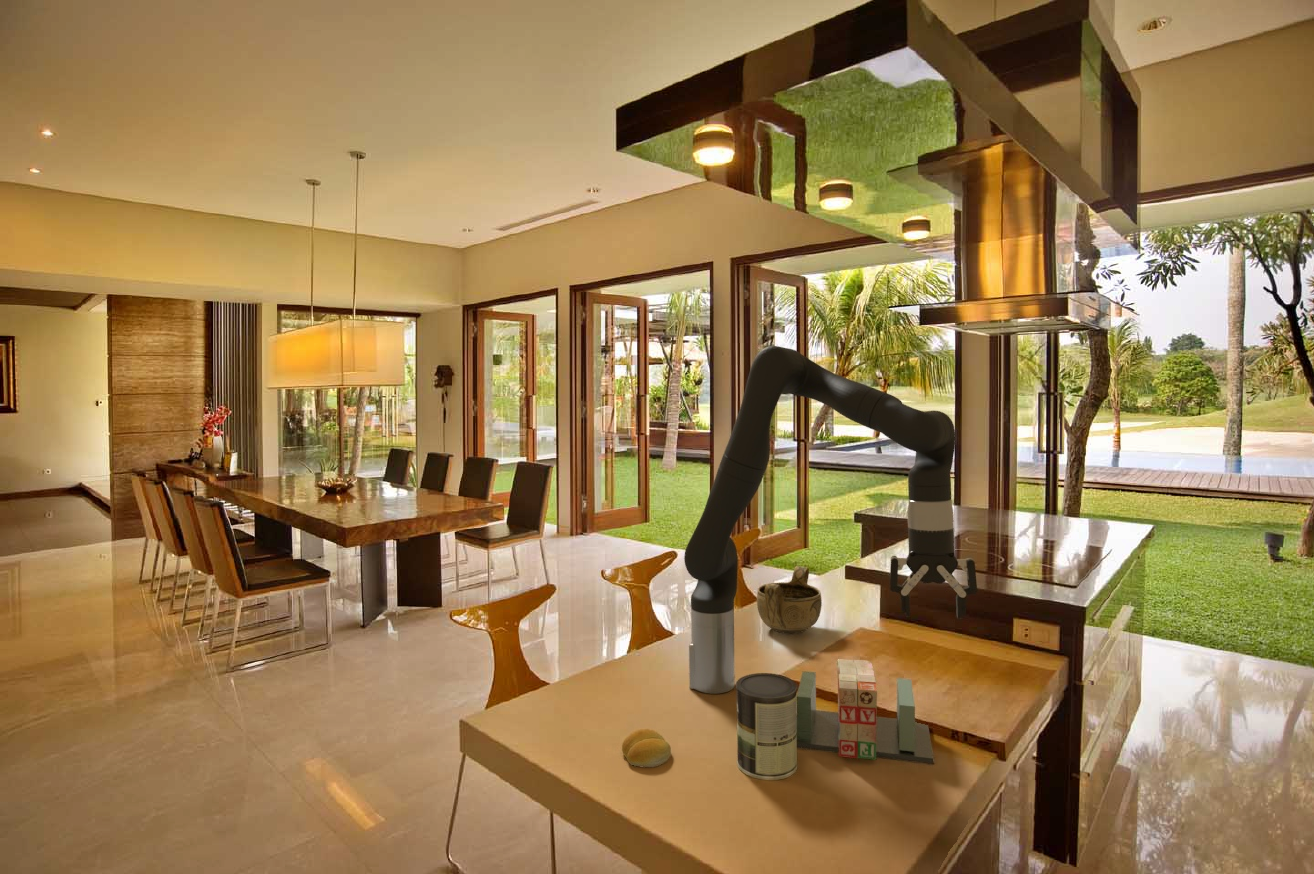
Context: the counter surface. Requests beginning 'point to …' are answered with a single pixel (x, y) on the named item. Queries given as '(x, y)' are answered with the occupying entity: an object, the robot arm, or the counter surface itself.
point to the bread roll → (646, 748)
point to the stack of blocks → (857, 709)
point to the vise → (824, 729)
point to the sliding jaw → (905, 715)
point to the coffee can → (766, 726)
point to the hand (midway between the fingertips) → (933, 616)
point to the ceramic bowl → (790, 603)
